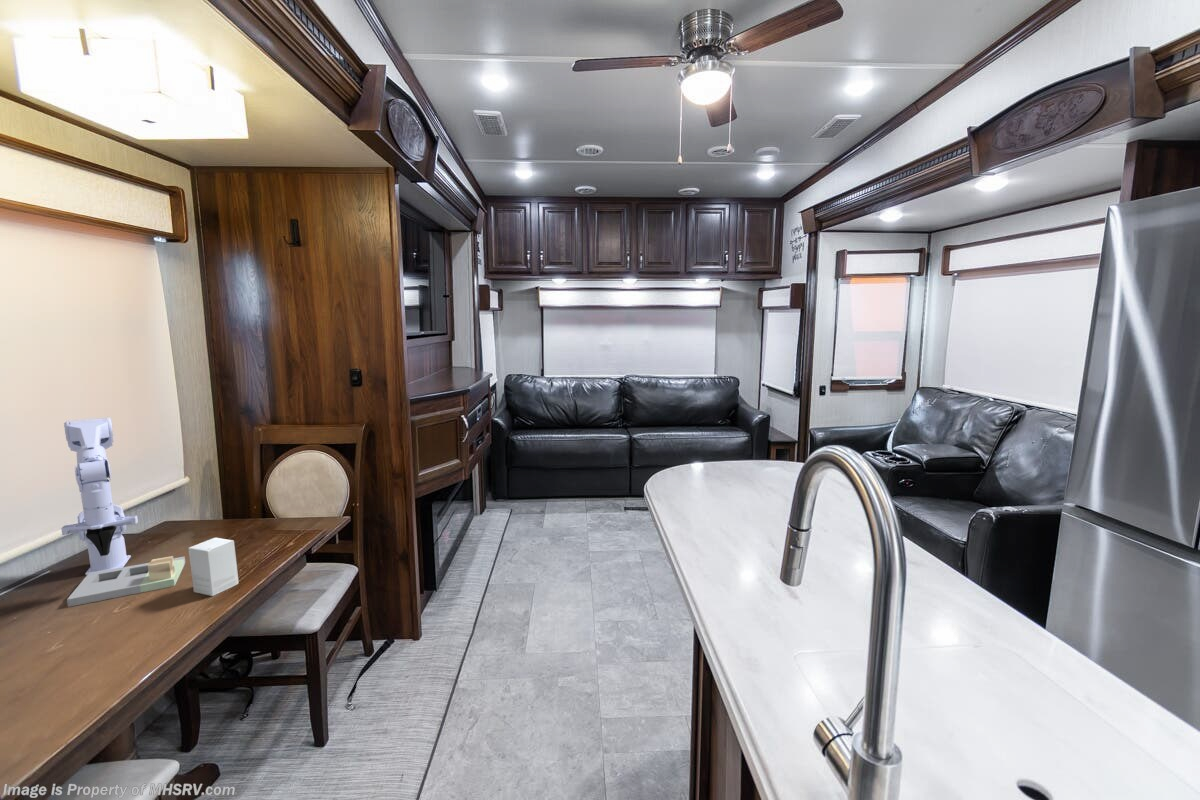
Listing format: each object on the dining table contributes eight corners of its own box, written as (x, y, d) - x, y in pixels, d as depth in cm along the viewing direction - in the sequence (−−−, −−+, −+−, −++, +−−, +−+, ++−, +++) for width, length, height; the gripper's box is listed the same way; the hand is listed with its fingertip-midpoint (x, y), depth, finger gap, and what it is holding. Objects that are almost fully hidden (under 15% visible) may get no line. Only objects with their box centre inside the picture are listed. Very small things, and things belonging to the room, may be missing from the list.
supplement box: (239, 583, 141) (235, 540, 139) (212, 597, 134) (206, 551, 132) (220, 579, 143) (216, 536, 142) (192, 592, 136) (187, 547, 135)
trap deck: (89, 580, 143) (88, 573, 142) (185, 562, 153) (184, 556, 153) (68, 607, 129) (66, 599, 129) (174, 585, 140) (173, 579, 139)
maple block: (154, 574, 142) (152, 559, 141) (174, 571, 144) (172, 555, 143) (149, 581, 138) (147, 566, 137) (171, 577, 140) (169, 562, 139)
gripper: (53, 515, 129) (61, 566, 131) (130, 505, 136) (136, 553, 138) (64, 507, 135) (72, 555, 137) (137, 497, 142) (143, 544, 144)
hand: (105, 554), depth 138 cm, fingers closed
